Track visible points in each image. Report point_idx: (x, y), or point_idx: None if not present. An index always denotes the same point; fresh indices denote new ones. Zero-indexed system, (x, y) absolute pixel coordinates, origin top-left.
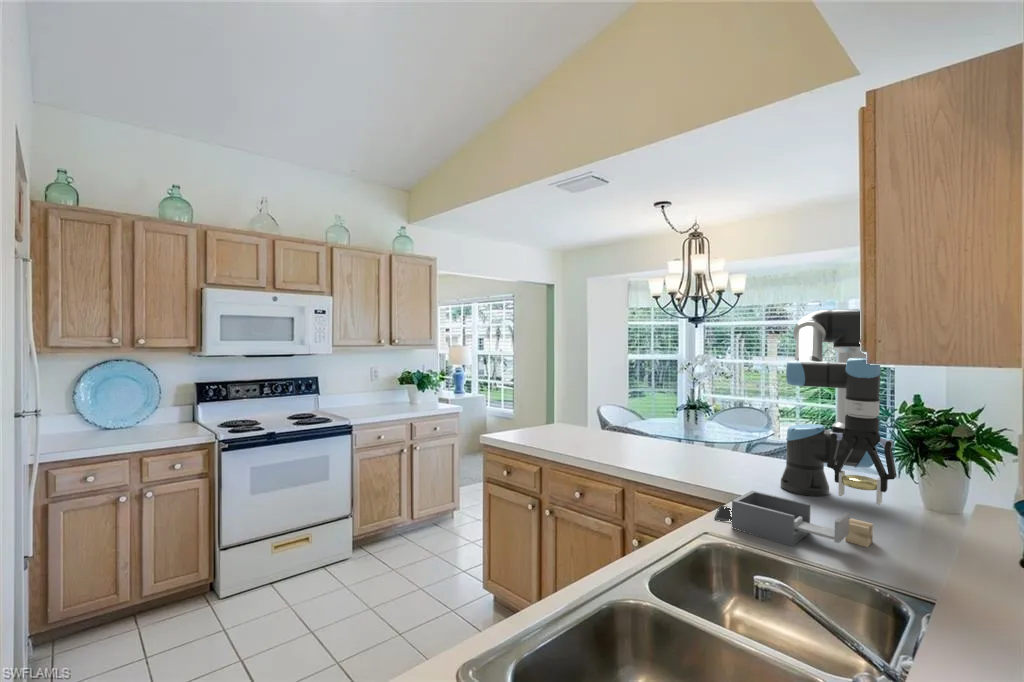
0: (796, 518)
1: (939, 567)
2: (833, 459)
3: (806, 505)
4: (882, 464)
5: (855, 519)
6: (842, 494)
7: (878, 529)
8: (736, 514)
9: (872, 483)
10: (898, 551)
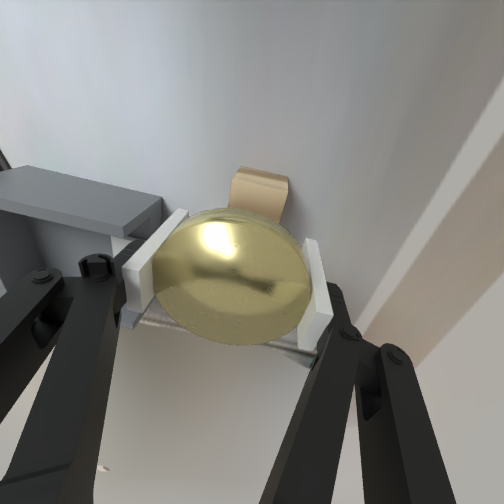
0: None
1: (394, 250)
2: (41, 362)
3: (118, 235)
4: (347, 410)
5: (243, 181)
6: None
7: (316, 27)
8: None
9: (279, 327)
10: (335, 206)
